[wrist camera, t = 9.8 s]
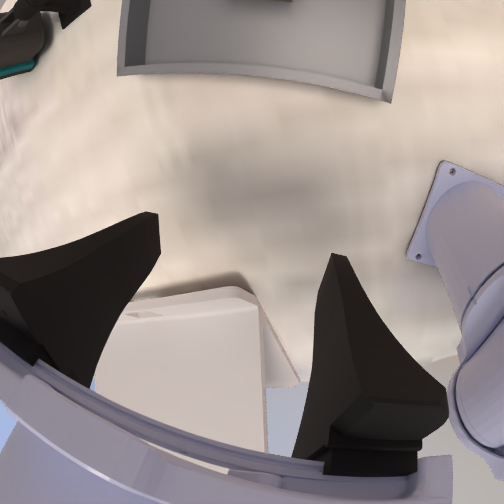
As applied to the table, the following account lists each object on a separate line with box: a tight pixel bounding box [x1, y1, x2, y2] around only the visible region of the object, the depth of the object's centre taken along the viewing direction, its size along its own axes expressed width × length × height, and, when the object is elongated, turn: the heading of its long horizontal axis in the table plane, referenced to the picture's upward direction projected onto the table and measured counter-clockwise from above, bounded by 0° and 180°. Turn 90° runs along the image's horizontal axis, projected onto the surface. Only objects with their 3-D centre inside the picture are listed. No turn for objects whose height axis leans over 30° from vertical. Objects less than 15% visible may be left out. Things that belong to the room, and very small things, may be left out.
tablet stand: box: [95, 286, 300, 475], centre depth 27 cm, size 18×25×17 cm
